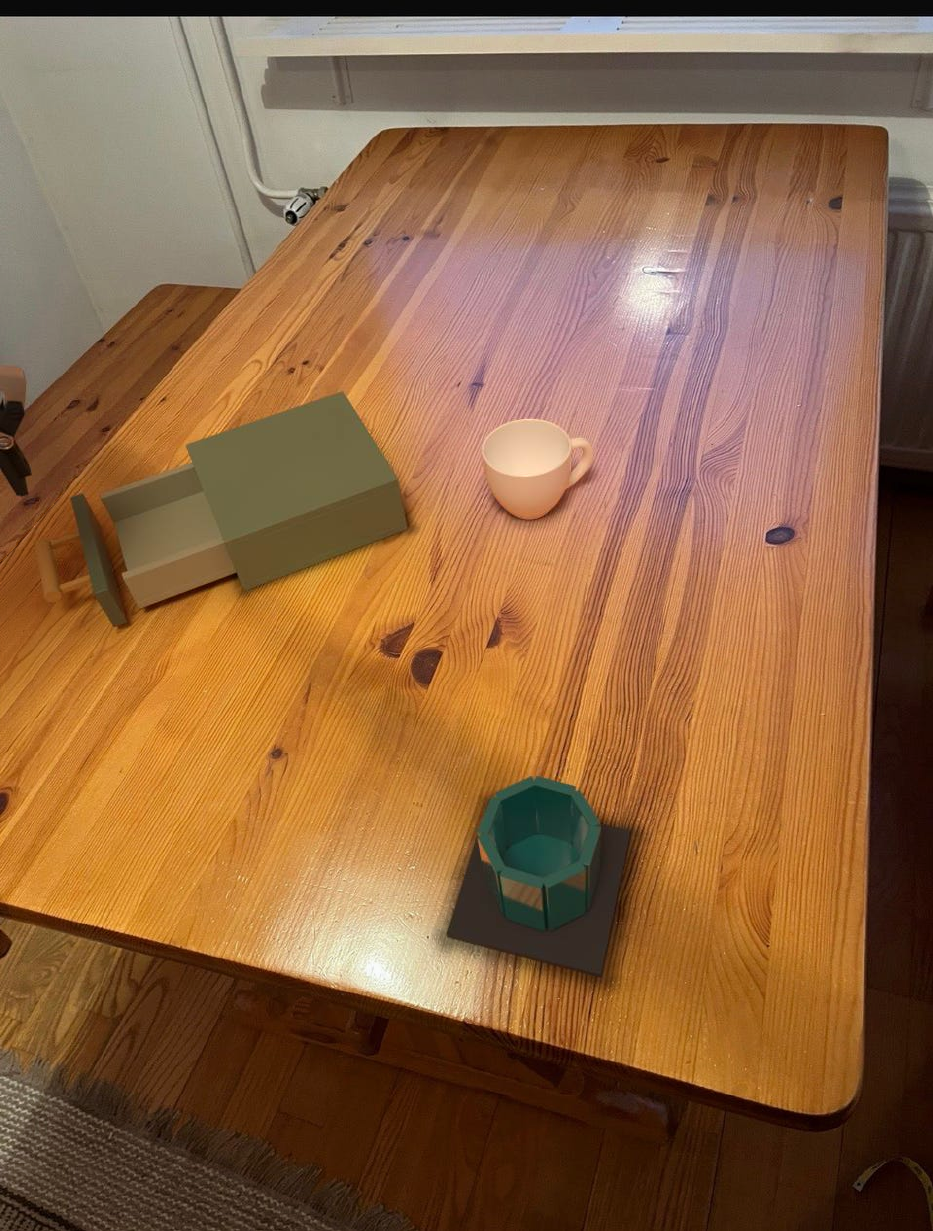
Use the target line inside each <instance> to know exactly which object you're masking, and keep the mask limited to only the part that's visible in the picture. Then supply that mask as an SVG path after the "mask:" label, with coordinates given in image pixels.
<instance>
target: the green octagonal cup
mask: <svg viewBox="0 0 933 1231" xmlns="http://www.w3.org/2000/svg"><path fill="white" fill-rule="evenodd" d="M489 799H490V801H489V803H488V802H487V803H488V806H487V805H486V806H487V808H486V807H485V810H486V811H485V810H484V813H483V815H482V818H481V820H480V823H479V825H478V829H477V831H476V833H477V835H478V843H479V848H480V854H481V859H482V865H483V870H484V876H485V881H486V884H487V886H488V888H489V890H490V892H491V894H492V896H493V898H494V900H495V902H496V904H497V906H498V908H499V910H500V912H501V914H502V915H505V914H506V919H508V920H511V921H514V922H517V923H520V924H523V925H526V926H529V927H532V928H536V929H539V930H542V931H545V930H546V927H547V928H548V930H549V931H551V930H553V929H555V928H557V927H559V926H561V925H563V924H565V923H567V922H569V921H571V920H573V919H575V918H577V917H579V916H581V915H583V914H585V912H586V909H587V910H589V908H590V904H591V901H592V898H593V894H594V891H595V888H596V884H597V881H598V878H599V875H600V846H601V828H600V824H601V822H600V819H599V817H598V816H597V815H596V813H595V811H594V810H593V809H592V807H591V805H590V804H589V802H588V800H587V799H586V797H585V796H584V793H583V792H582V791H581V790H580V789H577V786H575V785H572V784H569V783H565V782H563V781H562V782H561V781H557V780H553V779H551V778H548V777H547V778H546V777H543V776H539V775H535V778H534V777H533V776H532V775H531V776H528V777H526V778H524V779H522V780H519V781H517V782H515V783H513V784H510V785H509V786H506V787H504V788H502V789H499V790H497V791H495V792H494V796H490V798H489ZM537 833H540V834H537ZM535 834H537V835H535ZM569 842H571V843H572V844H573V845H572V844H571V843H569ZM509 846H510V847H509ZM507 847H509V848H508V849H507ZM506 849H507V850H506Z"/></svg>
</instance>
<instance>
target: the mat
mask: <svg viewBox="0 0 933 1231" xmlns="http://www.w3.org/2000/svg"><path fill="white" fill-rule="evenodd" d="M489 801H490V798H489V799H488V800H487V803H486V806H485V810H484V812H485V811H486V808H487V806H488V803H489ZM600 828H601V846H600V875H599V878H598V881H597V884H596V888H595V891H594V894H593V898H592V901H591V904H590V908H589V910H587V909H586V912H585V914H583V915H581V916H579V917H577V918H575V919H573V920H571V921H569V922H567V923H565V924H563V925H561V926H559V927H557V928H555V929H553V930H551V931H549V930H548V928H547V927H546V930H545V931H542V930H539V929H536V928H532V927H529V926H526V925H523V924H520V923H517V922H514V921H511V920H508V919H506V914H505V915H502V914H501V912H500V910H499V908H498V906H497V904H496V902H495V900H494V898H493V896H492V894H491V892H490V890H489V888H488V886H487V884H486V881H485V876H484V870H483V865H482V859H481V854H480V848H479V843H478V834H477V835H476V838H475V842H474V845H473V848H472V851H471V855H470V857H469V861H468V864H467V866H466V870H465V874H464V876H463V880H462V883H461V886H460V890H459V892H458V895H457V899H456V901H455V902H456V903H455V906H454V909H453V911H452V915H451V918H450V921H449V924H448V927H447V930H446V937H447V938H449V939H452V940H456V941H459V942H464V943H467V944H471V945H475V946H478V947H483V948H487V949H490V950H495V951H498V952H502V953H505V954H509V955H513V956H517V957H520V958H525V959H528V960H532V961H536V962H539V963H543V964H547V965H551V966H554V967H559V968H563V969H567V970H570V971H574V972H578V973H582V974H585V975H589V976H593V977H597V978H602V976H603V971H604V966H605V961H606V956H607V951H608V947H609V941H610V937H611V931H612V928H613V927H612V926H613V921H614V917H615V912H616V911H615V910H616V907H617V903H618V897H619V892H620V886H621V883H622V878H623V873H624V869H625V868H624V867H625V863H626V858H627V853H628V848H629V843H630V838H631V829H627V828H623V827H618V826H615V825H609V824H605V823H600ZM537 834H540V833H537ZM537 834H535V835H537ZM569 843H571V842H569ZM571 844H572V843H571ZM572 845H573V844H572ZM509 847H510V846H509ZM509 847H507V849H508V848H509ZM507 849H506V850H507Z"/></svg>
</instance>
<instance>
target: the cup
mask: <svg viewBox="0 0 933 1231" xmlns="http://www.w3.org/2000/svg"><path fill="white" fill-rule="evenodd" d="M579 449H582V455H581V459H580V460H579V462H578V464H576V466H575V467H574V468H573V469H572V458H573V457H572V456H573V454H572V453H573V452H574V451H576V450H579ZM481 456H482V464H483V466H482V467H483V472H484V477H485V480H486V483H487V486H488V488H489V490H490V493H491V494H492V496H493V497H494V498H495V499H496V501H497V503H499V504H500V506H501V507H502V508H503V509H505V511H507V512H508V513H509V514H511V516H513V517H515V518H516V519H520V520H526V521H527V520H536V519H540V518H542V517H545V515H547V514H548V513H549V512H551V510H553V509H554V507H555V506H556V505H557V504H558V502H559V501H560V500H561V499H562V496H564V493H565V491H566V490H567V489H569V488H571V487H572V486H573V485H575V484H576V483H577V482H578V481H579V480H581V478H582V477H583V476H584V475H585V474H586V473H587V472H588V470H589V468H590V467H591V465H592V463H593V460H594V450H593V446H592V444H591V443H590V441H589V440H588V439H587V438H585V437H582V436H581V437H580V436H578V437H572V438H571V437H570V435H569V434H568V433H567V432H566V431H565V430H564V428H562V427H561V426H559V425H558V424H555V423H554V422H551V421H548V420H544V419H540V418H539V419H538V418H522V419H521V418H520V419H516V420H511V421H507V422H506V423H503V424H501V425H499V426H497V427H496V428H494V429H493V430H491V431H490V432H489V433H488V434H487V435H486V437H485V438H484V440H483V443H482V446H481Z"/></svg>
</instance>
